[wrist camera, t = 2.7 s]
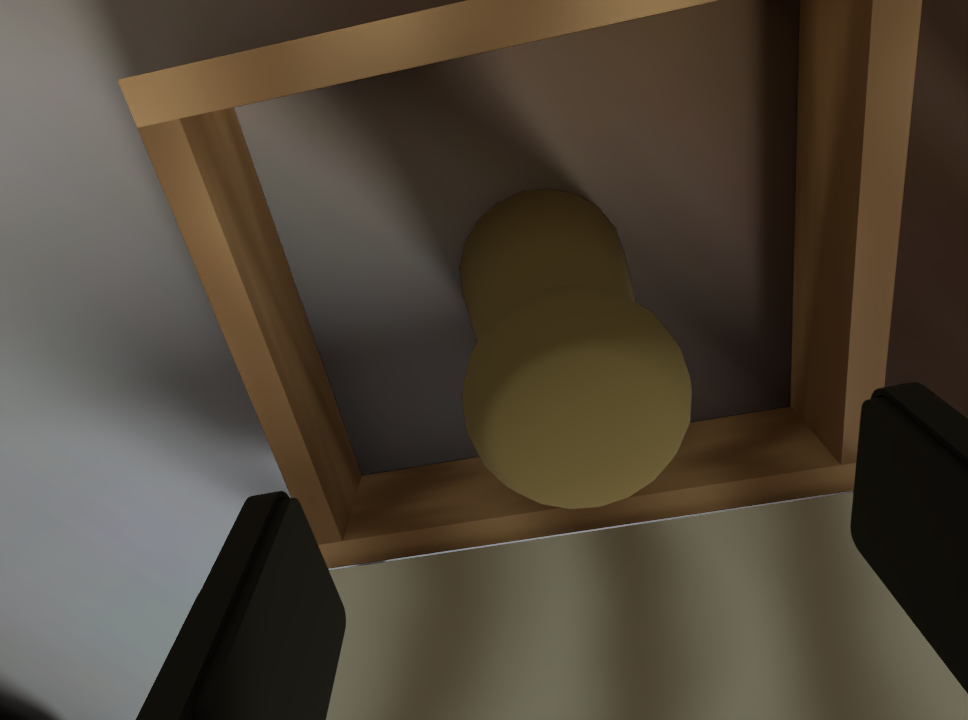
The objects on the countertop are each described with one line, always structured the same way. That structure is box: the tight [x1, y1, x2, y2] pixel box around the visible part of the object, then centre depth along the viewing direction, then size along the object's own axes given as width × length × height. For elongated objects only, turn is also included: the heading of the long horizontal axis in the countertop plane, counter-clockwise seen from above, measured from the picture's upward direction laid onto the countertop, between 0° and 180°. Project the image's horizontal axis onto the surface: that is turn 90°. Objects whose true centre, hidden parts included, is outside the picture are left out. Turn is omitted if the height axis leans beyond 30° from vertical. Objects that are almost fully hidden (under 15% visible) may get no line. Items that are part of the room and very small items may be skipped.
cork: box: [459, 189, 692, 509], centre depth 18 cm, size 6×6×11 cm
